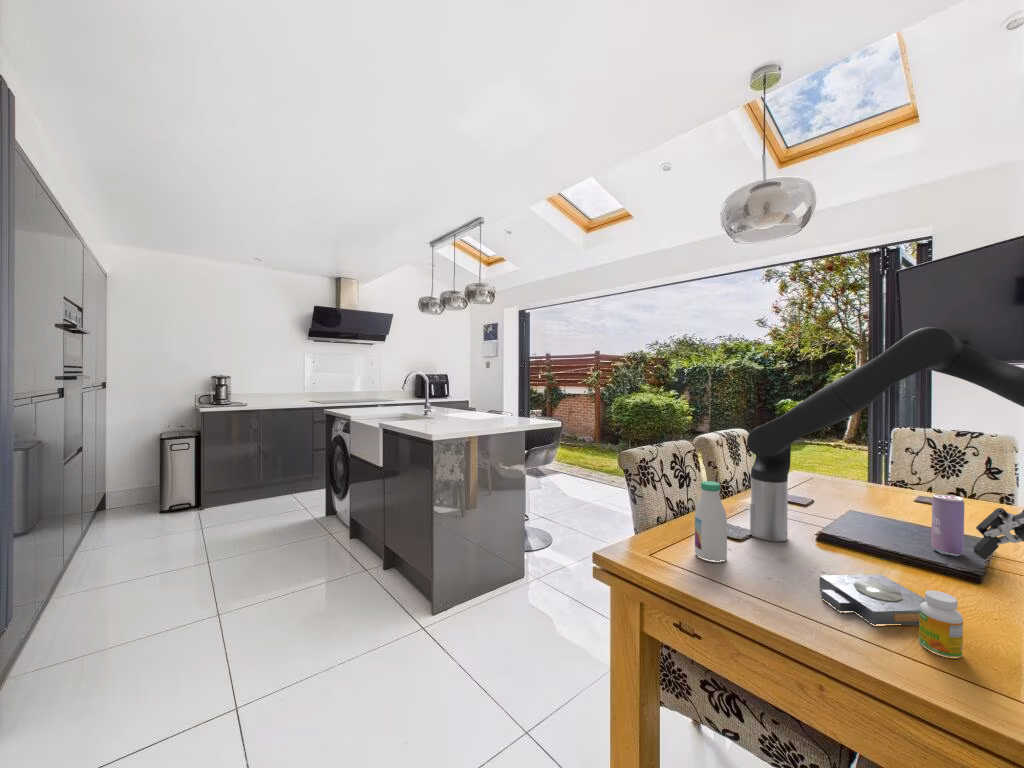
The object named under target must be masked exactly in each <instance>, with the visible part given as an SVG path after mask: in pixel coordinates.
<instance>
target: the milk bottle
mask: <svg viewBox="0 0 1024 768" xmlns="http://www.w3.org/2000/svg"><path fill="white" fill-rule="evenodd" d="M700 491H701V496H700V499H699V501H698V503H697V505H696V507H695V514H694V552H695V553H696V554H697V555H698V556H700V557H702V558H705V559H708V560H715V561H720V560H725V559H726V560H727V558H728V524H727V523H728V520H727V519H728V518H727V511H726V509H725V507H724V504H723V503H722V500H721V497H720V493H721V484H720V483H719V482H717V481H712V480H711V481H710V480H705V481H704V480H703V481H701V483H700ZM695 553H694V554H695ZM696 554H695V555H696Z"/></svg>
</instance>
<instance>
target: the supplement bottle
mask: <svg viewBox="0 0 1024 768" xmlns="http://www.w3.org/2000/svg"><path fill="white" fill-rule="evenodd" d="M924 598H925V600H926V602H923V603H921V604H920V608H919V626H918V627H919V628H918V642H920V643H919V645H920V644H921V645H922V646H924V647H926V648H927V649H929V650H931V651H933V652H935V653H937V654H940V655H943V656H947V657H961V656H962V657H963V643H964V642H963V641H964V640H963V637H964V633H963V632H964V617H963V615H962V614H961V612H960V611H958V607H959V606H958V599H957V598H956V597H955V596H953V595H951V594H948V593H946V592H943V591H939V590H932V589H931V590H926V591H925V593H924ZM921 645H920V646H921ZM922 646H921V647H922ZM962 657H961V658H962Z"/></svg>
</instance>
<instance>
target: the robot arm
mask: <svg viewBox="0 0 1024 768" xmlns="http://www.w3.org/2000/svg"><path fill="white" fill-rule="evenodd" d="M924 370H927V371H932V372H937V373H939V374H940V373H941V374H944V375H947V376H951V377H954V378H957V379H961V380H964V381H966V382H969V383H971V384H974V385H976V386H979V387H981V388H983V389H985V390H987V391H990V392H992V393H994V394H996V395H997V396H999V397H1002V398H1004V399H1006V400H1008V401H1010V402H1012V403H1014V404H1016V405H1018V406H1019V407H1022V408H1024V367H1021V366H1018V365H1015V364H1011V363H1009V362H1006V361H1002V360H1000V359H997V358H994V357H992V356H990V355H988V354H985V353H983V352H982V351H981V352H980V351H979V350H977V349H975V348H973V347H972V346H970V345H968V344H967V343H965V342H963V341H961V340H960V339H959V338H958V337H957V336H956V335H955V334H953V333H952V332H950V331H949V330H947V329H945V328H942V327H939V326H927V327H921V328H917V329H916V330H913V331H911V332H909V333H908V334H907V335H905V336H904V337H902V338H901V339H900V340H898V341H897V342H895V343H894V344H893V345H891V346H890V347H888V348H887V349H885V351H883V352H882V353H881V354H879V355H877V356H876V357H875V358H873V359H872V360H870V361H867V362H866V363H864V364H862V365H861V366H859V367H857V368H855V369H853V370H852V371H850V372H848V373H846V374H845V375H844V376H841V377H840V378H838V379H836V380H834V381H832V382H830V383H829V384H827V385H826V386H824V387H822V388H821V389H819V390H817V391H816V392H814V393H812V394H811V395H810V396H809V397H807V398H805V399H804V400H802V401H801V402H799V403H798V404H797V405H796V406H794V407H793V408H792V409H790V410H789V411H787V412H786V413H784V414H782V415H781V416H779V417H776V418H774V419H772V420H770V421H768V422H766V423H764V424H762V425H759V426H756V427H755V428H753V429H752V430H750V432H749V434H748V435H747V438H746V445H747V446H746V447H747V449H748V450H749V451H750V452H751V453H752V454H753V455H755V461H754V464H753V465H752V466H751V471H750V477H751V478H750V486H751V487H750V491H751V493H750V494H751V495H750V501H751V502H750V505H749V508H750V509H749V510H750V511H749V514H750V516H749V519H750V521H749V529H750V530H749V531H750V532H749V533H750V534H751V535H752V536H751V537H754V538H757V539H760V540H763V541H765V542H775V543H781V542H786V541H787V540H788V515H789V514H788V512H789V511H788V508H789V507H788V506H789V505H788V501H789V500H788V498H789V496H788V486H789V485H788V482H789V481H788V479H789V472H790V469H791V460H792V459H791V457H792V456H791V455H792V454H791V453H792V444H793V443H795V442H796V441H797V440H799V439H801V438H802V437H805V436H808V435H809V434H812V433H816V432H818V431H820V430H823V429H826V428H828V427H830V426H832V425H835V424H837V423H840V422H842V421H844V420H846V419H848V418H849V417H851V416H854V415H855V414H857V413H858V412H861V411H862V410H864V409H866V408H867V407H868V406H870V405H872V404H873V403H874V402H875V401H876V400H878V398H880V397H881V396H882V395H883V394H884V393H885V392H886V391H887V390H888V389H889V388H891V387H893V385H896V384H897V383H899V382H900V381H902V380H905V379H906V378H909V377H911V376H912V375H915V374H918V373H919V372H921V371H924ZM975 529H976V531H978V532H979V533H980V534H981V535H982V536H983V537H982V538H981V539H980V540H979V541H978V542H977V543H976V544H975V545H974V546H973V553H974V554H975V555H976V556H977V557H978V559H979V558H980V559H981V560H987V559H988V558H990V556H991V555H992V554H993V553H994V552H995V551H996V550H997V549H998V548H999V547H1000V546H1001V545H1004V544H1008V543H1012V544H1016V543H1022V542H1023V543H1024V509H1023V510H1022V511H1021V512H1020V513H1017V514H1013V513H1010V512H1008V511H1007V510H1006V509H1004V508H1002V507H997V508H995V509H994V511H992V512H991V513H990V514H989V515H987V516H986V518H984V519H983V520H982V521H981V522H980V523H979V524H977V526H976V527H975ZM1010 531H1013V532H1014V534H1012V533H1011V532H1010Z"/></svg>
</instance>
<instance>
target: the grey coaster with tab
mask: <svg viewBox="0 0 1024 768" xmlns="http://www.w3.org/2000/svg"><path fill="white" fill-rule="evenodd" d="M820 588H821V589H823V590H821V589H820ZM819 589H820V590H821V600H822V599H824V600H825V601H827V602H828V603H830V604H831V605H832V606H833V607H835V608H836V609H837V610H839V611H854V612H856V613H857V614H859V615H860V616H862V617H863V618H864V619H866V620H867V621H869V622H870V623H872V624H874V625H876V624H901V625H919V608H920V604H921V603H923V602H926V600H925V597H923V596H921V595H919V594H917V593H916V592H914V591H912V590H910V589H908V588H906V587H905V586H903V585H901V584H899V583H897V582H896V581H894V580H892V579H890V578H888V577H887V576H886V575H883V574H880V573H879V574H875V573H874V574H848V575H847V574H845V575H844V574H840V575H839V574H837V575H835V574H834V575H819Z"/></svg>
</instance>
